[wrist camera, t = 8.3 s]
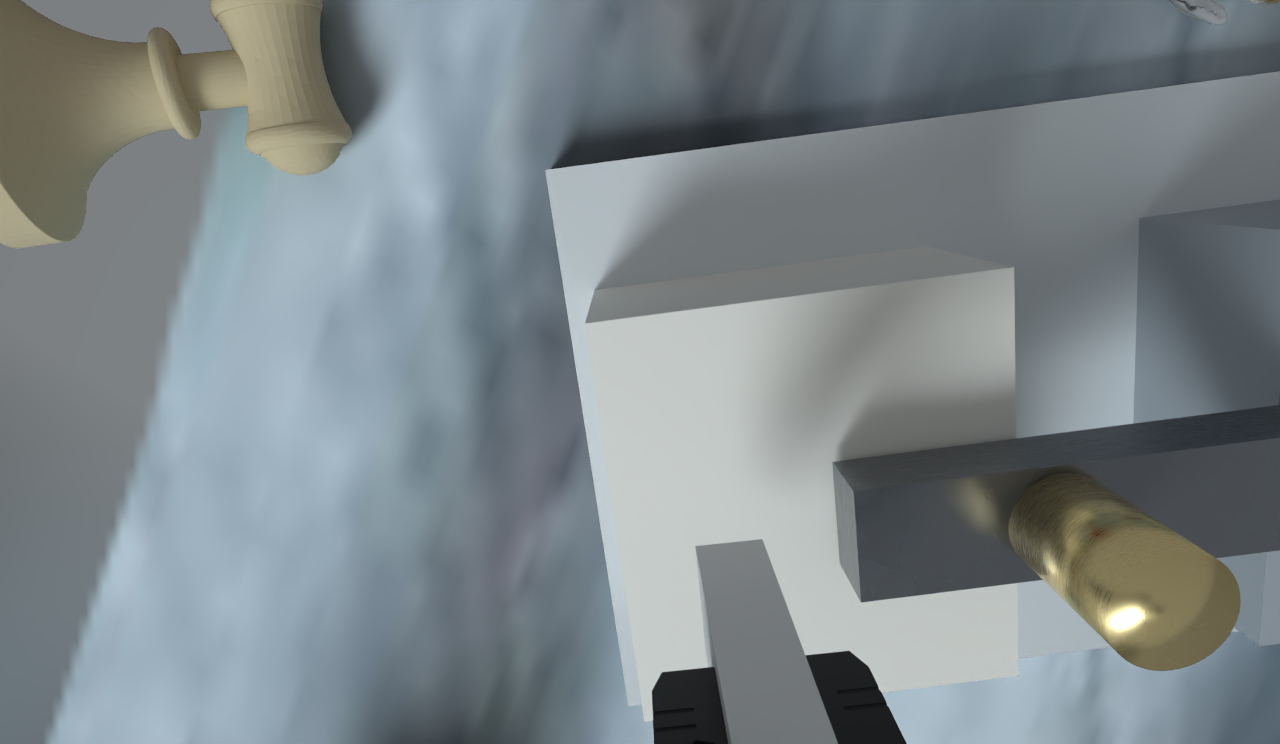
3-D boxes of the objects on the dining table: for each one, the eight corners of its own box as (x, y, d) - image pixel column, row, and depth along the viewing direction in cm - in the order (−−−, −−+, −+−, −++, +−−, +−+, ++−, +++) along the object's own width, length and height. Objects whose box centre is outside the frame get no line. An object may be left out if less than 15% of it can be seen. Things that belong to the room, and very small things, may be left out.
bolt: (1297, 506, 21) (1551, 632, 15) (839, 563, 21) (919, 709, 16) (1306, 401, 20) (1576, 491, 15) (832, 462, 21) (913, 575, 15)
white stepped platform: (1382, 588, 31) (1851, 845, 19) (628, 681, 31) (629, 988, 19) (1447, 49, 26) (2136, -56, 14) (549, 170, 26) (487, 166, 14)
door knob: (293, -125, 20) (366, 193, 22) (314, -33, 27) (367, 198, 29) (-182, -109, 17) (-49, 254, 19) (-15, -11, 24) (69, 243, 26)
